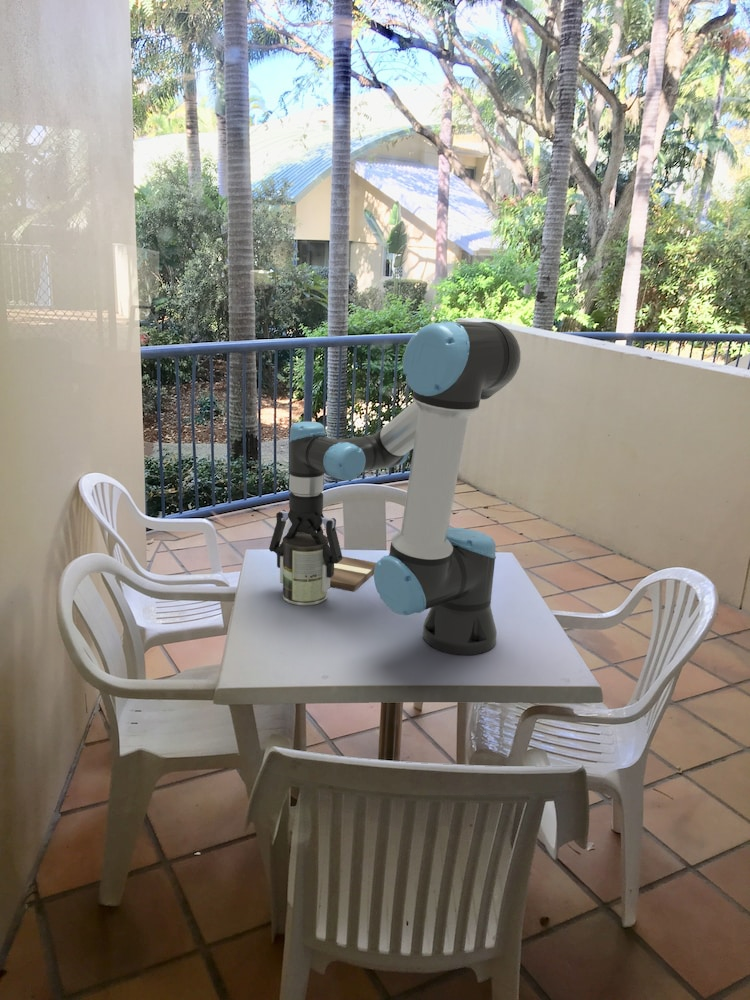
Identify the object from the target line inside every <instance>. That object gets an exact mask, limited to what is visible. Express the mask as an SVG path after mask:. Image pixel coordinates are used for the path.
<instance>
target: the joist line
mask: <svg viewBox="0 0 750 1000" xmlns="http://www.w3.org/2000/svg"><path fill="white" fill-rule="evenodd" d="M334 568H335V569H340V570H345V571H350V572H356V573H361V574H366V575H367V574H368V573H369V572H370V571H371V570H370V569H365V568H359V567H354V566H349V565H343V564H338V563H337V564H335V563H334Z"/></svg>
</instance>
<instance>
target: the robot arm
mask: <svg viewBox="0 0 750 1000" xmlns="http://www.w3.org/2000/svg"><path fill="white" fill-rule="evenodd" d="M402 360H403V361H402V371H403V374H404V375H405V376H406V378H405V382H406V383H407V385H408V387H409V388H410V389H411V390H412V397H411V398H412V400H413V401H412V403H410V404H409V405H408V406H407V407H405V408H404V409H403V410H402V411H401V412H400V413H398V414H396V416H394V418H393V419H391V420H390V421H388V423H387V424H385V425H384V426H383V427H382V428H380V429H379V430H378V431H377V432H375V433H374V434H369V435H364V436H363V435H362V436H357V437H350V438H342V439H336V438H330V437H329V436H326V432H325V431H326V430H325V426H324V424H323V423H321V422H318V421H317V422H316V421H298V422H294V423H292V424H291V426H290V427H289V428H290V431H289V432H290V433H289V440H288V443H289V445H288V446H289V448H288V449H289V452H288V453H289V456H288V457H289V462H288V463H289V481H288V483H289V486H288V489H289V492H290V493H289V495H288V499H289V500H288V501H289V502H288V508H289V511H286V510H285V509H281V510H280V511H278V512H277V513H276V522H275V523H276V524H275V526H274V530H273V534H272V537H271V541H270V544H269V549H268V550H269V551H270V552H273V553H275V554H276V567H277V569H279V583H280V584H283V540H282V539H283V534H284V531H285V527H286V523H287V520H289V521H290V523H291V526H290V528H289V529H288V531H287V533H286V534H285V535H284V536H285V538H287V539H291V538H292V537H294V536H295V535H296V533H297V532H300V533H302V532H304V533H306V534H311V536H312V538H314V540H315V542H316V544H323V543H324V542H326V539H325V537H324V535H326V537H327V538H328V544H327V545H326V546H325V547H323V558H324V560H325V563H324V564H323V566H322V592H326V591H327V592H328V590H329V589H330V588H331V586H330V578H331V577H332V576H333V575H334V563H335V564H337V563H338V562H340V561H341V560H342V559H343V558H342V556H343V554H342V549H341V546H340V541H339V538H338V537H339V536H338V533H337V529H336V526H337V520H336V518H334V517H332V518H327V517H325V516H324V515H323V514H324V512H323V510H324V494H323V491H324V479H325V478H324V476H325V475H328V476H330V477H332V478H334V479H337V480H343V481H354V480H355V479H356V478H358V477H359V476H360V475H361V474H362V473H364V472H370V471H376V470H382V469H392V468H394V467H396V466H397V467H398V466H400V465H403V464H404V463H405V462H406V461H407V460H408V457H409V455H410V451H411V450H412V455H411V462H410V467H409V468H410V470H409V475H408V483H407V487H406V488H407V489H406V495H405V496H406V497H405V502H404V509H403V513H402V514H403V515H402V521H401V522H402V523H401V529H400V531H398V532H396V533H395V534H394V535H392V537H391V541H390V547H389V554H388V555H384V556H382V557H380V559H379V560H378V561H377V562H375V563H376V565H375V568H374V574H373V580H374V582H373V583H374V586H375V588H376V591H377V594H378V595H379V597H380V599H381V601H382V602H383V603H384V605H386V607H387V609H389V610H391V612H393V613H395V614H397V615H400V616H409V615H410V616H411V615H414V614H420V613H421V614H422V612H424V611H426V610H429V611H428V613H427V615H426V618H425V619H424V620H425V621H424V622H423V627H422V637H423V640H424V641H425V642H426V643H427V644H428V645H429V646H431V648H434V649H436V650H438V651H440V652H441V651H442V652H444V653H448V654H455V655H463V656H466V655H467V656H469V655H478V654H483V653H485V652H488V651H490V650H492V648H494V646H495V645H496V643H497V633H498V632H497V628H496V623H495V620H494V615H493V612H492V611H493V610H492V606H491V605H492V604H491V603H492V593H493V583H494V575H495V574H494V572H495V563H496V559H497V556H496V542H495V541H494V539H493V538H492V537H491V536H490V535H488V534H485V533H483V532H480V531H478V530H473V529H469V528H462V527H450V522H451V516H452V511H453V504H454V500H455V495H456V494H455V493H456V488H457V482H458V477H459V471H460V466H461V459H462V454H463V448H464V447H463V446H464V442H465V435H466V432H467V431H466V430H467V426H468V421H469V420H468V419H469V416H470V415H471V414H472V413H474V412H475V411H477V410H478V409H479V407H480V402H481V401H486V400H489V398H491V397H492V396H493V395H495V394H496V393H498V392H500V391H501V390H502V389H503V388H504V387H506V386H507V385H508V384H509V383H510V382H511V381H513V378H514V377H515V376H516V374H517V373H518V370H519V367H520V364H521V348H520V345H519V343H518V339H517V338H516V336H515V335H514V333H512V332H511V331H510V330H509V328H507V327H505V326H504V325H501V324H499V323H498V322H493V321H492V322H491V321H478V322H477V321H473V322H472V321H471V322H470V321H449V320H448V321H447V320H446V321H441V322H435V323H429V324H426V325H424V326H423V327H421V328H420V329H419V330H417V331H416V332H415V333H414V334H413V335H412V336H411V337H410V339H409V341H408V342H407V344H406V347H405V350H404V353H403V359H402ZM324 474H325V475H324ZM322 524H323V527H324V529H325V532H326V534H324V531H323V528H322Z"/></svg>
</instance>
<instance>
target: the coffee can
mask: <svg viewBox="0 0 750 1000" xmlns="http://www.w3.org/2000/svg"><path fill="white" fill-rule="evenodd" d="M323 535H324V537H325V539H326V542H324V543H323V544H316V542H315V540H314V538H312V536H311V534H306V533H304V532H302V533H300V532H297V533H296V535H295V536H294V537H292V538H291V539H287V538H285V536H286V535H284V536H282V541H283V583H282V599H283V600H284V601H285V602H287V603H289V604H291V605H295V606H312V605H318V604H321V603H323V602H324V601H325V600H326V599H327V598H328V594H327V592H328V590H327V591H326V592H322V566H323V564H324V563H325V560H324V558H323V547H325V546H326V545H327V544H328V545H329V542H328V538H327V535H326V534H323Z"/></svg>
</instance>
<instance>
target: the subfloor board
mask: <svg viewBox="0 0 750 1000" xmlns="http://www.w3.org/2000/svg"><path fill="white" fill-rule="evenodd" d="M342 558H343V559H342V560H341V561H340V562H338V564H343V565H349V566H354V567H359V568H365V569H370V570H371V571H370V572H369V573H368V574H367V575H366V574H361V573H356V572H350V571H345V570H340V569H335V568H334V575H333V576H332V577H331V578H330V588H335V587H336V589H340V588H341V590H346V591H351V592H356V590H358V589H359V588H360V587H361V586H362V585H363V584H364V583H366V581H367V580H369V579H370V578H371V577H372V576H374V568H375V565H376V563H377V562H375V561H369V560H364V559H360V558H359V559H357V558H352V557H347V556H343V555H342Z"/></svg>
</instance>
